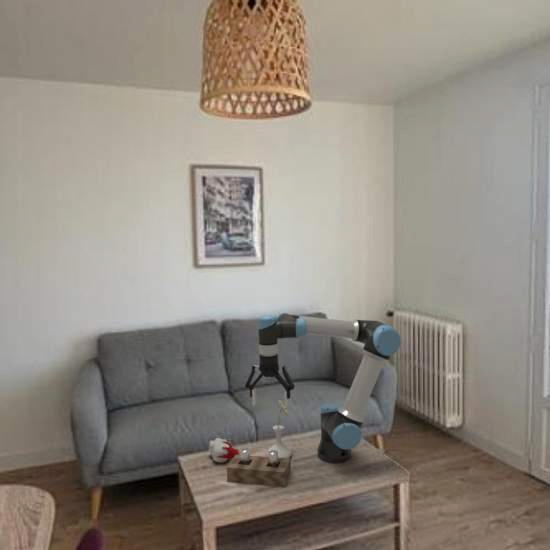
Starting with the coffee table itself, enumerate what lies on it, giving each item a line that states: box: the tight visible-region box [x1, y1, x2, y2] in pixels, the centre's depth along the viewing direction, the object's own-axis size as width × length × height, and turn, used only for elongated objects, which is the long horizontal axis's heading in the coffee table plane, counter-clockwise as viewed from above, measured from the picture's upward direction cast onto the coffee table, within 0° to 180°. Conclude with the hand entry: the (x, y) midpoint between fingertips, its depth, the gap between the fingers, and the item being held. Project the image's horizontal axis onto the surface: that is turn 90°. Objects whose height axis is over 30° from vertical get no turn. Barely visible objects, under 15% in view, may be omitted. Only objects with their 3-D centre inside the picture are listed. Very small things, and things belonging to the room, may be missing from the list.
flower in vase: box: [266, 400, 293, 459], centre depth 224 cm, size 13×11×25 cm
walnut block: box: [226, 454, 292, 488], centre depth 207 cm, size 24×12×6 cm, turn 77°
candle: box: [208, 437, 240, 464], centre depth 223 cm, size 9×11×15 cm
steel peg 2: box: [267, 450, 278, 467], centre depth 205 cm, size 4×4×6 cm
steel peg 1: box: [239, 447, 251, 465], centre depth 208 cm, size 4×4×6 cm
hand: (270, 405), depth 203 cm, fingers open, 13 cm apart
